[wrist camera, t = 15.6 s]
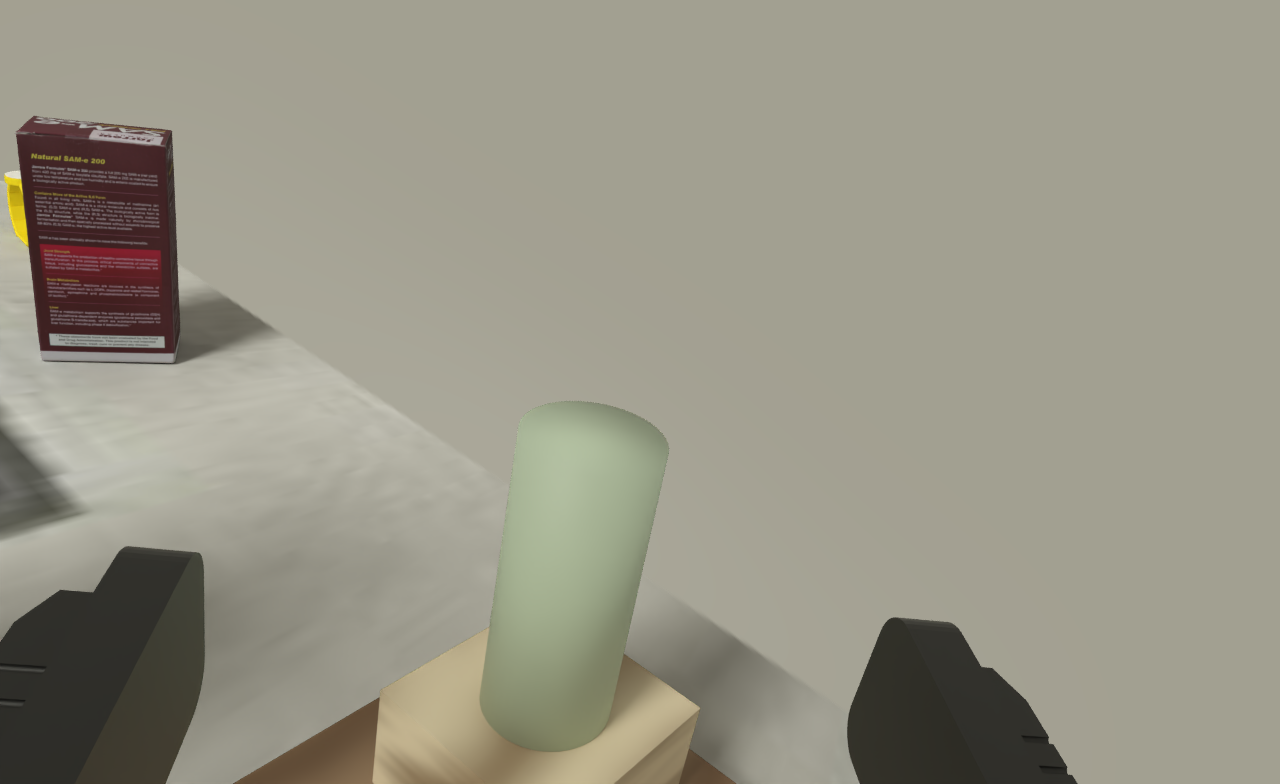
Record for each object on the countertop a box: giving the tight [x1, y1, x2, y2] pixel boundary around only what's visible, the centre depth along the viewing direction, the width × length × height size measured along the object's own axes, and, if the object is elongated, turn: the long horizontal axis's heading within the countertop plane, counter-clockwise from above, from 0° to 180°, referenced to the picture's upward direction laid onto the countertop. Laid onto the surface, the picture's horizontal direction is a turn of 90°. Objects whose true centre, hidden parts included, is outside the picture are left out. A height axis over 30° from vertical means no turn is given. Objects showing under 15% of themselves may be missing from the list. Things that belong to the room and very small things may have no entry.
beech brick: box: [372, 627, 700, 784], centre depth 39 cm, size 9×9×5 cm
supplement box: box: [15, 116, 180, 363], centre depth 65 cm, size 9×5×16 cm, turn 109°
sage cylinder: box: [480, 401, 669, 752], centre depth 35 cm, size 5×5×12 cm
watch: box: [4, 171, 28, 246], centre depth 82 cm, size 6×3×6 cm, turn 45°
